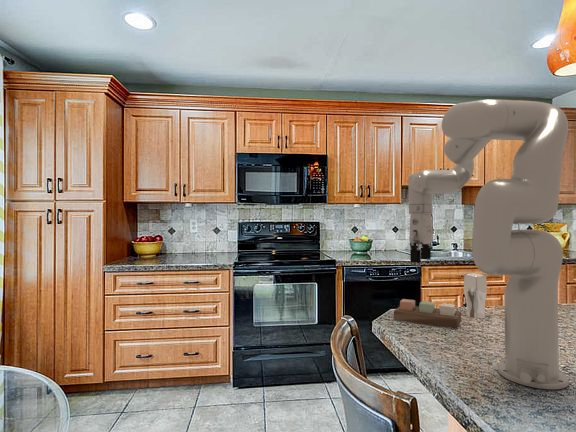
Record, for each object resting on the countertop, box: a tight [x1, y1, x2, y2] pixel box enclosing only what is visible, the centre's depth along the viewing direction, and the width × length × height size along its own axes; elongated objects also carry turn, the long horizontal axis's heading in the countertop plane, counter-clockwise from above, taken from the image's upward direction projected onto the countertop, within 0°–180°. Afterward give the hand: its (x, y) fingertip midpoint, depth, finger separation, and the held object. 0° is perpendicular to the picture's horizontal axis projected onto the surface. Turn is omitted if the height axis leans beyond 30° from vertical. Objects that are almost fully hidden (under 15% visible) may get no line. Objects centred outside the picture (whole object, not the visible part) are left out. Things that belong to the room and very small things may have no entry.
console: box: [393, 305, 462, 330], centre depth 116 cm, size 10×19×4 cm, turn 58°
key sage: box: [418, 300, 436, 314], centre depth 116 cm, size 4×4×3 cm
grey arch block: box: [463, 272, 488, 319], centre depth 121 cm, size 7×7×15 cm
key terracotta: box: [399, 298, 416, 311], centre depth 119 cm, size 4×4×3 cm
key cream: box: [439, 302, 456, 316], centre depth 113 cm, size 4×4×3 cm
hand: (420, 260), depth 119 cm, fingers open, 9 cm apart
